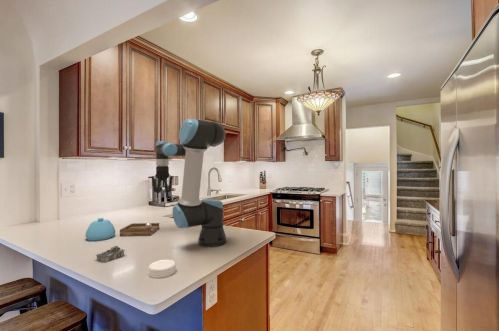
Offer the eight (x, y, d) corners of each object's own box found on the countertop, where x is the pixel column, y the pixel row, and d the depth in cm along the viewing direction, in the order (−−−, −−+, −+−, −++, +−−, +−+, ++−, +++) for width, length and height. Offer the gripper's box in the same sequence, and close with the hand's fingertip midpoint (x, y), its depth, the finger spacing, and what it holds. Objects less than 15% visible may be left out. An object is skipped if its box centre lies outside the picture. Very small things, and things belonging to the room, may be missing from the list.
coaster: (163, 280, 89) (163, 270, 89) (142, 276, 93) (142, 267, 93) (181, 269, 99) (181, 261, 99) (161, 266, 102) (161, 257, 102)
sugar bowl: (120, 234, 151) (120, 215, 151) (103, 242, 136) (103, 221, 136) (98, 234, 152) (97, 215, 152) (78, 241, 137) (78, 220, 138)
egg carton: (118, 253, 118) (118, 244, 118) (126, 256, 114) (126, 247, 114) (94, 260, 109) (94, 251, 110) (102, 264, 105) (102, 254, 105)
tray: (150, 235, 147) (150, 229, 147) (119, 236, 146) (119, 229, 147) (159, 229, 163) (159, 223, 163) (131, 229, 162) (131, 223, 163)
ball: (150, 229, 153) (150, 223, 153) (144, 229, 153) (144, 223, 153) (152, 227, 157) (152, 222, 157) (146, 227, 157) (146, 222, 157)
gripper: (176, 165, 159) (177, 201, 159) (151, 166, 159) (152, 202, 159) (173, 165, 152) (173, 203, 152) (147, 166, 151) (147, 204, 151)
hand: (162, 202), depth 155 cm, fingers open, 3 cm apart
